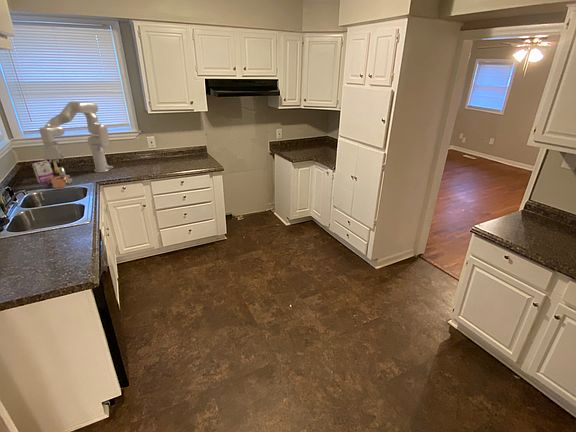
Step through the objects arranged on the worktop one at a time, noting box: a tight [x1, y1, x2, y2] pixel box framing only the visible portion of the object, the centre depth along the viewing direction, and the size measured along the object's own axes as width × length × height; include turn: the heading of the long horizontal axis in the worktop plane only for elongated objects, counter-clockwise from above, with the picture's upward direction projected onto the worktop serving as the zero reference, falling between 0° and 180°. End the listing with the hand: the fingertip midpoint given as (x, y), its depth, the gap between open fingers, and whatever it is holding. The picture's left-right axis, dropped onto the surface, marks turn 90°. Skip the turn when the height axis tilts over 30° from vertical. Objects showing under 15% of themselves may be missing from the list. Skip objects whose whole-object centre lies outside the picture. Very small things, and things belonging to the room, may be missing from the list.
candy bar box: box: [31, 160, 55, 184], centre depth 255 cm, size 11×5×16 cm, turn 148°
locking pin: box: [52, 159, 61, 175], centre depth 246 cm, size 3×3×10 cm
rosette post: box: [50, 166, 73, 189], centre depth 252 cm, size 10×20×12 cm, turn 20°
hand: (56, 167), depth 246 cm, fingers closed on locking pin, 3 cm apart
